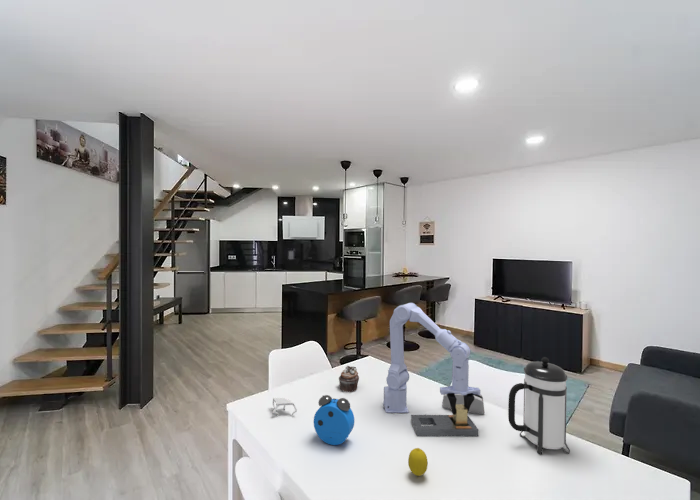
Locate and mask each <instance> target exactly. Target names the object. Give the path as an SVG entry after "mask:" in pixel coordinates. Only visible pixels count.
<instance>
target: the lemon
mask: <svg viewBox="0 0 700 500" xmlns="http://www.w3.org/2000/svg"><path fill="white" fill-rule="evenodd" d="M407 461H408V462H407V463H408V468H409V470H410V471H411V473H412V474H413V475H414V476H416V477H420V476H421V477H422V476H423V475H424V474H426V472H427V469H428V467H429V465H428V458H427V454H426V452H425V451H424V450H423V449H422V448H419V447H415V448H413V449H412V450H410V452H409V454H408V460H407Z"/></svg>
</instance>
